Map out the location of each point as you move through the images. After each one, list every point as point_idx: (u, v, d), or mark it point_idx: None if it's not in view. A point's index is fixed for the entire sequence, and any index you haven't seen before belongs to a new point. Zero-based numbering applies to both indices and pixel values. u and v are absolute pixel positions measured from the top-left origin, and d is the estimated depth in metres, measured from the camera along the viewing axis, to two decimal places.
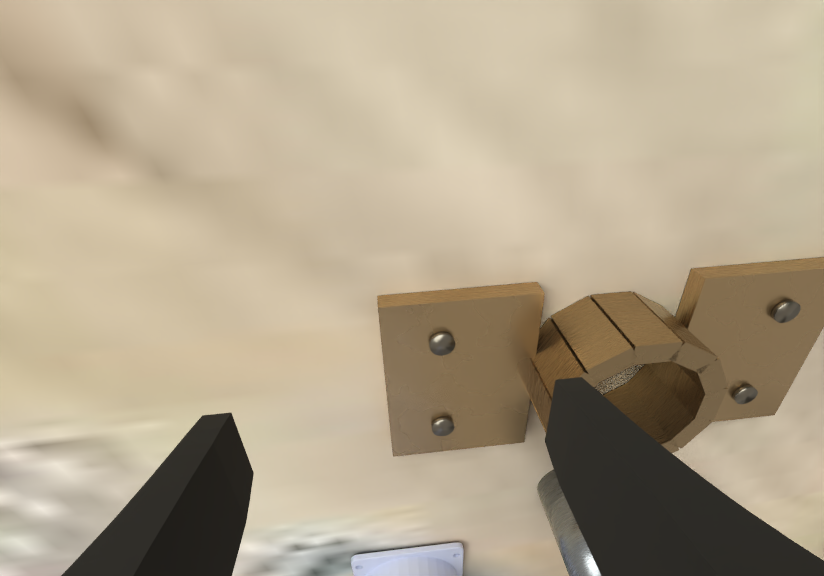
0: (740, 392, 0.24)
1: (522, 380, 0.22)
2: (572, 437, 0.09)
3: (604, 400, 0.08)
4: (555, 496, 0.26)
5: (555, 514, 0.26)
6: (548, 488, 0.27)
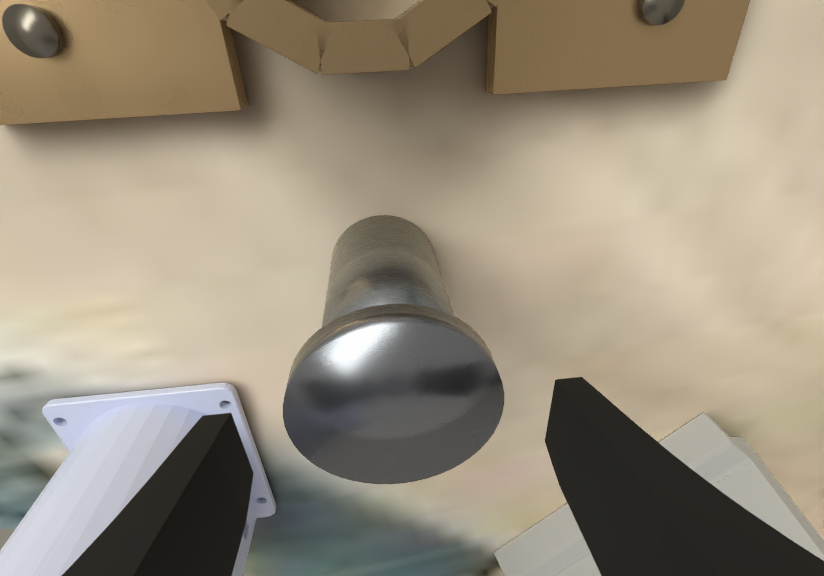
0: None
1: None
2: (572, 437, 0.09)
3: (604, 400, 0.08)
4: (337, 255, 0.15)
5: (329, 278, 0.14)
6: (334, 252, 0.15)
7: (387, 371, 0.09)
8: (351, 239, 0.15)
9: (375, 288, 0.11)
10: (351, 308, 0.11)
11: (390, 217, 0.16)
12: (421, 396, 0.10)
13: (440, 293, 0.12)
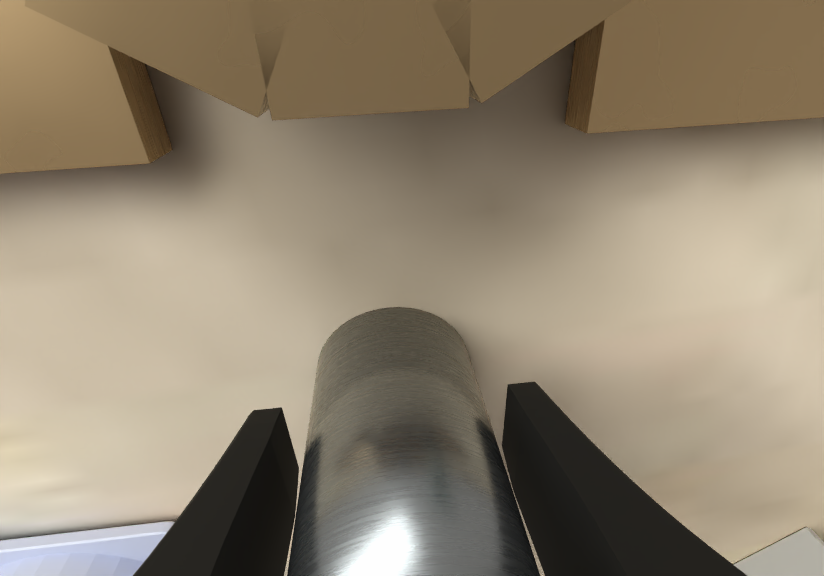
0: None
1: None
2: (521, 443, 0.09)
3: (551, 405, 0.08)
4: (323, 381, 0.09)
5: (310, 425, 0.09)
6: (320, 367, 0.10)
7: None
8: (345, 355, 0.09)
9: (388, 518, 0.06)
10: (340, 573, 0.05)
11: (405, 311, 0.10)
12: None
13: (502, 491, 0.07)
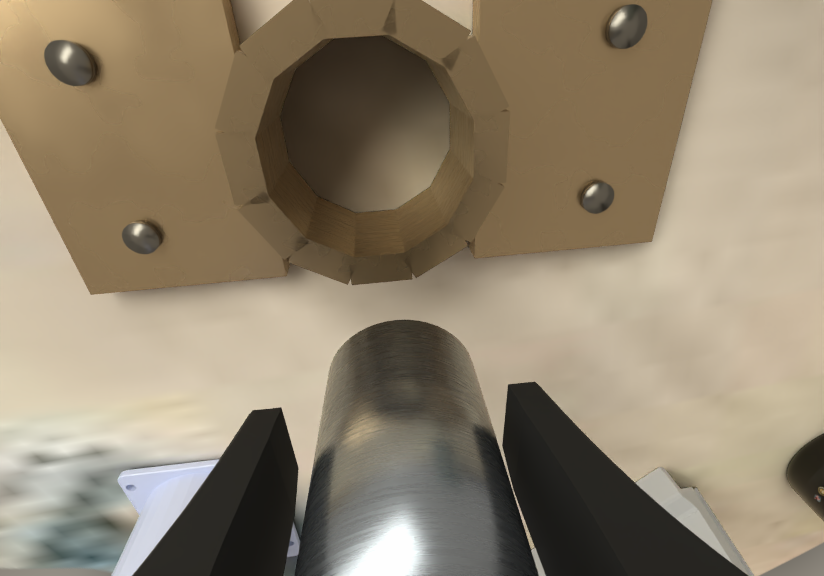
0: (588, 191, 0.16)
1: None
2: (522, 443, 0.09)
3: (551, 406, 0.08)
4: (334, 388, 0.10)
5: (320, 430, 0.09)
6: (331, 376, 0.10)
7: None
8: (355, 364, 0.10)
9: (393, 512, 0.06)
10: (346, 562, 0.06)
11: (413, 323, 0.11)
12: None
13: (503, 494, 0.07)
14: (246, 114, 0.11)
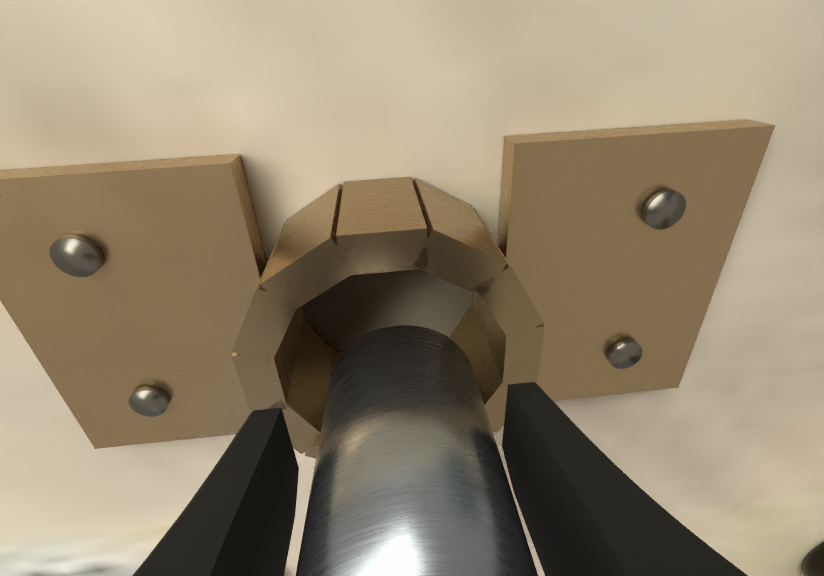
0: (616, 350, 0.16)
1: None
2: (521, 443, 0.09)
3: (551, 406, 0.08)
4: (335, 392, 0.10)
5: (322, 434, 0.09)
6: (332, 381, 0.11)
7: None
8: (356, 369, 0.10)
9: (392, 511, 0.06)
10: (347, 560, 0.06)
11: (414, 328, 0.11)
12: None
13: (502, 495, 0.07)
14: (265, 339, 0.10)
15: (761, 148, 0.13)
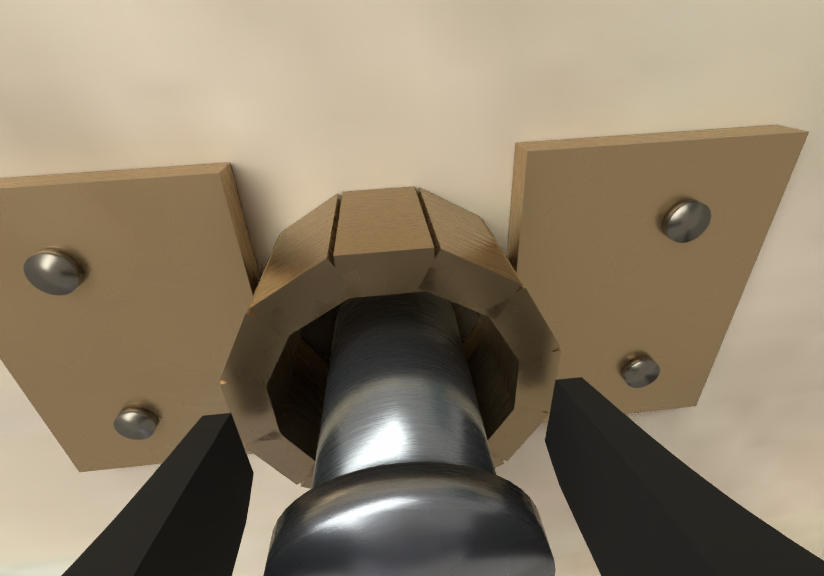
0: (631, 368, 0.15)
1: None
2: (572, 437, 0.09)
3: (604, 400, 0.08)
4: (341, 328, 0.12)
5: (331, 360, 0.12)
6: (338, 320, 0.13)
7: (400, 554, 0.07)
8: (357, 309, 0.12)
9: (386, 406, 0.09)
10: (353, 437, 0.08)
11: None
12: (445, 575, 0.07)
13: (467, 400, 0.10)
14: (256, 366, 0.10)
15: (792, 156, 0.12)
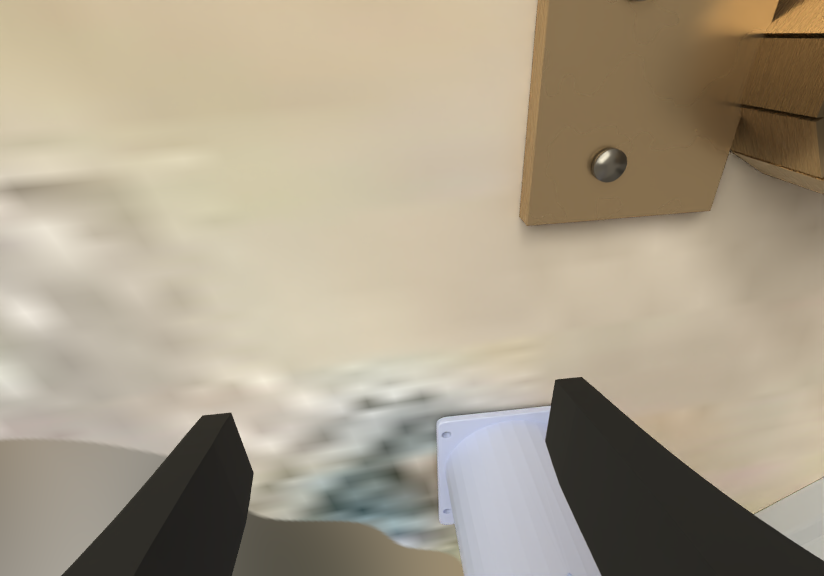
0: None
1: (738, 79, 0.15)
2: (572, 437, 0.09)
3: (603, 400, 0.08)
4: None
5: None
6: None
7: None
8: None
9: None
10: None
11: None
12: None
13: None
14: None
15: None
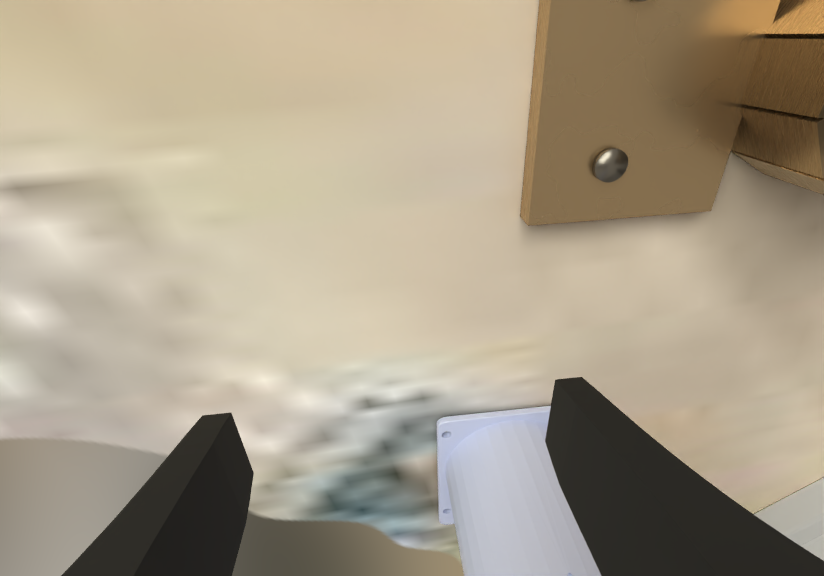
0: None
1: (739, 79, 0.15)
2: (572, 437, 0.09)
3: (604, 400, 0.08)
4: None
5: None
6: None
7: None
8: None
9: None
10: None
11: None
12: None
13: None
14: None
15: None
